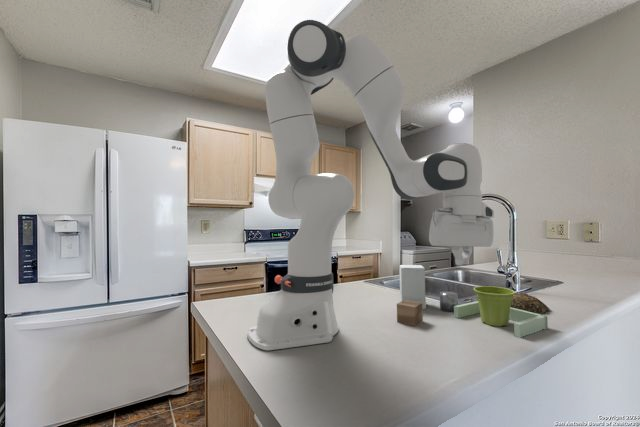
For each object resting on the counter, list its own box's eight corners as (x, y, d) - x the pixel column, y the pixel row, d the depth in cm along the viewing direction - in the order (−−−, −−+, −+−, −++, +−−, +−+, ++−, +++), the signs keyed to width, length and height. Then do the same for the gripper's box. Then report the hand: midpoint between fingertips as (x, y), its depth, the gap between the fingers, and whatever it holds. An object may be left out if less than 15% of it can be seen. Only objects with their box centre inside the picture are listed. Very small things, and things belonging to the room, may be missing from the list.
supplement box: (426, 309, 91) (425, 268, 91) (401, 308, 92) (400, 267, 93) (422, 302, 98) (422, 264, 98) (399, 302, 100) (399, 264, 100)
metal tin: (450, 313, 87) (450, 296, 87) (436, 309, 91) (436, 292, 91) (461, 310, 89) (461, 294, 89) (447, 306, 93) (447, 290, 94)
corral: (520, 337, 68) (519, 324, 68) (454, 316, 83) (453, 306, 83) (547, 328, 74) (547, 316, 74) (481, 310, 89) (481, 300, 89)
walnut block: (414, 326, 76) (414, 307, 76) (397, 322, 80) (396, 303, 80) (422, 321, 80) (422, 303, 80) (405, 317, 83) (405, 300, 84)
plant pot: (517, 331, 72) (515, 295, 72) (473, 325, 76) (472, 291, 77) (515, 320, 80) (514, 288, 80) (475, 315, 84) (474, 284, 85)
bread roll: (494, 309, 91) (494, 293, 91) (503, 301, 100) (503, 286, 100) (546, 318, 82) (546, 300, 82) (551, 308, 91) (551, 292, 91)
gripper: (444, 205, 66) (444, 267, 65) (498, 211, 76) (498, 265, 75) (422, 207, 72) (422, 264, 71) (475, 212, 82) (475, 263, 81)
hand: (462, 265), depth 73 cm, fingers closed
